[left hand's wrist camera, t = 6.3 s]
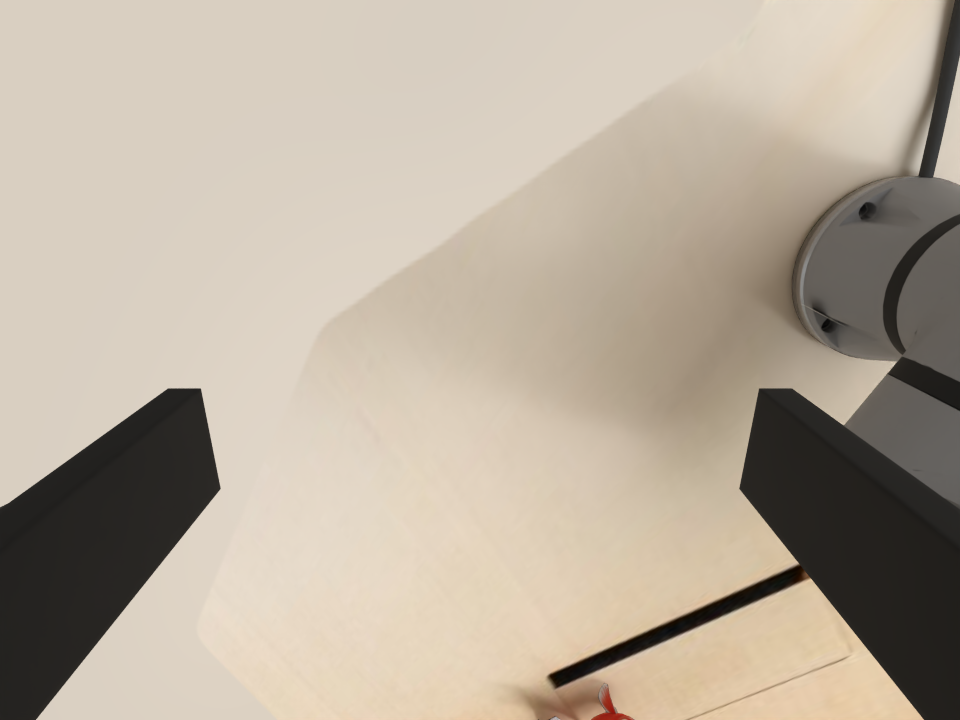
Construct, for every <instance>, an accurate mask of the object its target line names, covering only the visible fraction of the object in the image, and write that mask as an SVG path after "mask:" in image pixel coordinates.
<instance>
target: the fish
mask: <svg viewBox="0 0 960 720" xmlns="http://www.w3.org/2000/svg"><path fill="white" fill-rule="evenodd" d="M598 698H599V701H600V703H601V704H602V706H603V708H604V709H605V710H606V713H602V714H600V715H597V716H595V717H594V718H592V719H591V720H634V719H633V718H631V717H629V716H626V715H624V714H620V713H618V712H617V710H616V708H615V707H614V706H613V704H612V700H611V698H610V694H609V689H608V684H606V683H604V684H603V685H602V687H601V688H600V691H599V694H598ZM538 720H539V719H538ZM549 720H560V719H559V718H557V717H556V716H554V717H553V718H551V719H549Z"/></svg>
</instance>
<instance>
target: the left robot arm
mask: <svg viewBox="0 0 960 720" xmlns="http://www.w3.org/2000/svg"><path fill="white" fill-rule="evenodd" d="M959 56H960V0H955V4H954V8H953V13H952V18H951V23H950V28H949V33H948V38H947V43H946V48H945V53H944V59H943V64H942V69H941V74H940V79H939V84H938V89H937V94H936V98H935V103H934V108H933V113H932V118H931V122H930V127H929V132H928V136H927V141H926V145H925V150H924V154H923V159H922V163H921V168H920V172H919V176H900V177H892V178H886V179H882V180H878V181H875V182H873V183H870V184H867V185H865V186H863V187H861V188H859V189H857V190H855V191H853V192H851V193H850V194H848V195H847V196H845V197H844V198H842V199H841V200H840V201H838V202H837V203H836V204H835V205H833V206H832V207H831V208H830V209H829V210H828V211H827V212H826V213H825V214H824V215H823V216H822V217H821V218H820V219H819V221H818V222H817V223H816V224H815V226H814V227H813V228H812V230H811V231H810V233H809V234H808V236H807V238H806V239H805V241H804V243H803V245H802V247H801V249H800V252H799V254H798V257H797V260H796V263H795V267H794V272H793V279H792V295H793V302H794V306H795V309H796V312H797V315H798V317H799V319H800V321H801V323H802V324H803V326H804V327H805V328H806V330H807V331H808V332H809V333H810V334H811V335H812V336H813V337H814V338H815V339H817V340H818V341H819V342H821V343H823V344H824V345H826V346H828V347H830V348H832V349H834V350H836V351H838V352H840V353H842V354H845V355H848V356H851V357H855V358H861V359H868V360H882V361H898V362H897V363H896V364H895V365H894V367H893V368H892V369H891V370H890V371H889V373H888V374H887V375H886V376H885V377H884V378H883V380H882V381H881V382H880V383H879V384H878V385H877V387H876V388H875V389H874V390H873V391H872V393H871V394H870V395H869V396H868V397H867V399H866V400H865V401H864V402H863V403H862V405H861V406H860V407H859V408H858V409H857V411H856V412H855V413H854V414H853V415H852V417H851V418H850V419H849V420H848V421H847V423H846V424H845V425H844V426H843V425H842V424H840V423H839V422H838V421H836V420H835V419H834V418H832V417H831V416H829V415H828V414H827V413H825V412H824V411H822V410H821V409H820V408H818V407H817V406H815V405H814V404H813V403H811V402H810V401H808V400H807V399H806V398H804V397H803V396H802V395H800V394H799V393H797V392H796V391H795V390H793V389H759V392H758V397H757V402H756V408H755V413H754V418H753V423H752V428H751V433H750V438H749V443H748V448H747V453H746V458H745V463H744V468H743V473H742V478H741V483H740V488H739V489H740V490H741V491H742V493H743V494H744V495H745V496H746V498H747V499H748V500H749V501H750V503H751V504H752V505H753V506H754V508H755V509H756V510H757V511H758V513H759V514H760V515H761V516H762V518H763V519H764V520H765V521H766V523H767V524H768V525H769V526H770V528H771V529H772V530H773V531H774V533H775V534H776V535H777V536H778V538H779V539H780V540H781V541H782V543H783V544H784V545H785V546H786V548H787V549H788V550H789V551H790V553H791V554H792V555H793V556H794V558H795V559H796V560H797V561H798V563H799V564H800V565H801V566H802V568H803V569H804V570H805V571H806V573H807V574H808V575H809V576H810V578H811V579H812V580H813V581H814V583H815V584H816V585H817V586H818V588H819V589H820V590H821V591H822V593H823V594H824V595H825V596H826V598H827V599H828V600H829V601H830V603H831V604H832V605H833V606H834V608H835V609H836V610H837V611H838V613H839V614H840V615H841V616H842V618H843V619H844V620H845V621H846V623H847V624H848V625H849V626H850V628H851V629H852V630H853V631H854V633H855V634H856V635H857V636H858V638H859V639H860V640H861V641H862V643H863V644H864V645H865V646H866V648H867V649H868V650H869V651H870V653H871V654H872V655H873V656H874V658H875V659H876V660H877V661H878V663H879V664H880V665H881V666H882V668H883V669H884V670H885V671H886V673H887V674H888V675H889V676H890V678H891V679H892V680H893V681H894V683H895V684H896V685H897V686H898V688H899V689H900V690H901V691H902V693H903V694H904V695H905V696H906V698H907V699H908V700H909V701H910V703H911V704H912V705H913V706H914V708H915V709H916V710H917V711H918V713H919V714H920V715H921V716H922V718H923V719H924V720H960V185H958V184H956V183H953V182H950V181H948V180H944V179H941V178H935V177H933V175H934V171H935V167H936V162H937V158H938V154H939V150H940V145H941V141H942V136H943V132H944V127H945V123H946V118H947V114H948V109H949V104H950V99H951V95H952V90H953V85H954V81H955V76H956V71H957V66H958V61H959ZM219 490H220V483H219V478H218V473H217V468H216V463H215V458H214V453H213V448H212V443H211V438H210V433H209V428H208V423H207V418H206V413H205V408H204V403H203V397H202V392H201V389H167V390H165V391H164V392H163V393H161V394H160V395H158V396H157V397H156V398H154V399H153V400H152V401H150V402H149V403H147V404H146V405H145V406H143V407H142V408H140V409H139V410H138V411H136V412H135V413H133V414H132V415H131V416H129V417H128V418H127V419H125V420H124V421H122V422H121V423H120V424H118V425H117V426H115V427H114V428H113V429H111V430H110V431H108V432H107V433H106V434H104V435H103V436H101V437H100V438H99V439H97V440H96V441H94V442H93V443H92V444H90V445H89V446H88V447H86V448H85V449H83V450H82V451H81V452H79V453H78V454H76V455H75V456H74V457H72V458H71V459H69V460H68V461H67V462H65V463H64V464H63V465H61V466H60V467H58V468H57V469H56V470H54V471H53V472H51V473H50V474H49V475H47V476H46V477H44V478H43V479H42V480H40V481H39V482H37V483H36V484H35V485H33V486H32V487H31V488H29V489H28V490H26V491H25V492H24V493H22V494H21V495H19V496H18V497H17V498H15V499H14V500H12V501H11V502H10V503H8V504H6V505H4V506H2V507H0V720H36V719H37V718H38V716H39V715H40V714H41V713H42V711H43V710H44V709H45V708H46V706H47V705H48V704H49V703H50V701H51V700H52V699H53V698H54V696H55V695H56V694H57V693H58V691H59V690H60V689H61V688H62V686H63V685H64V684H65V683H66V681H67V680H68V679H69V678H70V676H71V675H72V674H73V673H74V671H75V670H76V669H77V668H78V666H79V665H80V664H81V663H82V661H83V660H84V659H85V658H86V656H87V655H88V654H89V653H90V651H91V650H92V649H93V648H94V646H95V645H96V644H97V643H98V641H99V640H100V639H101V638H102V636H103V635H104V634H105V633H106V631H107V630H108V629H109V628H110V626H111V625H112V624H113V623H114V621H115V620H116V619H117V618H118V616H119V615H120V614H121V613H122V611H123V610H124V609H125V608H126V606H127V605H128V604H129V603H130V601H131V600H132V599H133V598H134V596H135V595H136V594H137V593H138V591H139V590H140V589H141V588H142V586H143V585H144V584H145V583H146V581H147V580H148V579H149V578H150V576H151V575H152V574H153V573H154V571H155V570H156V569H157V568H158V566H159V565H160V564H161V563H162V561H163V560H164V559H165V558H166V556H167V555H168V554H169V553H170V551H171V550H172V549H173V548H174V546H175V545H176V544H177V543H178V541H179V540H180V539H181V538H182V536H183V535H184V534H185V533H186V531H187V530H188V529H189V528H190V526H191V525H192V524H193V523H194V521H195V520H196V519H197V518H198V516H199V515H200V514H201V513H202V511H203V510H204V509H205V508H206V506H207V505H208V504H209V503H210V501H211V500H212V499H213V498H214V496H215V495H216V494H217V493H218V491H219Z"/></svg>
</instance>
